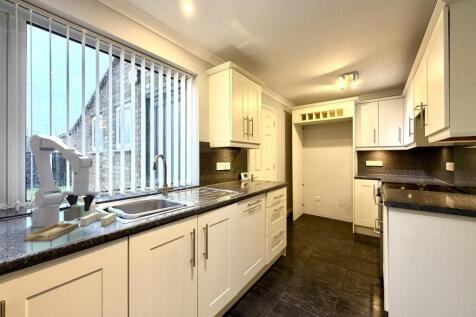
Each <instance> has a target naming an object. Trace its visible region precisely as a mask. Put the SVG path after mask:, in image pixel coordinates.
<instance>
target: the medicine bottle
mask: <svg viewBox="0 0 476 317" xmlns="http://www.w3.org/2000/svg"><path fill="white" fill-rule="evenodd" d="M83 197H85V196H80V197H79V202H84V199H83ZM92 213H96V202H94V200H93V201H92V203H91V213H89V214H87V215H90V214H92ZM87 215H85V216H87ZM85 216H81V217H79V218H76V219H75V220H80V218H83V217H85Z"/></svg>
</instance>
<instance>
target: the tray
mask: <svg viewBox="0 0 476 317" xmlns="http://www.w3.org/2000/svg"><path fill="white" fill-rule="evenodd" d="M79 224H80V222H62V223H55V224H52V225H50V226H47V227H41V228H40V229H38V230H35V231H32V232H30V233H27V234H24V236H23V241H24V242H29V241H30V242H31V241H34V242H37V241H38V242H39V241H41V242H44V241H53V240H55V239H57V238H60V236H63V235H65V234H67V233H69V232H71V231H74V230H75V229H77V228H79V226H80V225H79Z"/></svg>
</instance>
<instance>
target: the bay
mask: <svg viewBox="0 0 476 317" xmlns="http://www.w3.org/2000/svg"><path fill="white" fill-rule="evenodd" d="M115 219H116V220H117V213H116V212H95V213H92V214H90V215H87V216H85V217H83V218H80V219H79V220H80V221H79V224H80V225H79V226H88V225H90V224H92V223H94V222H96V221H100V226H101V225H102V226H107V224H108V225H110V224H111V223H112V221H113V222H115V221H116V220H115ZM95 220H96V221H95ZM93 221H94V222H93ZM91 222H92V223H91ZM89 223H90V224H89Z"/></svg>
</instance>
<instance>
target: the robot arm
mask: <svg viewBox="0 0 476 317" xmlns="http://www.w3.org/2000/svg"><path fill="white" fill-rule="evenodd" d="M29 146H30V150H31V153H32V154H33V157H34V161H35V166H36V171H37V176H38V181H39V185H40V186H39V187H40V188H39V189H37V190H36V191H35V192H34V204H35V206H36V207H35V208H34V209H33V211H32V212H31V213H32V214H31V215H32V216H31V225H30V227H31V228H45V227H47V226H50V225H52V224H55V223H65V221H64V220H60V206H62V204H63V203H64V202H65V200H66V201H67V202H68V204H69V208H71V206H72V205H74V204H77V203H78V199H79V196H80V197H81V196H85V197H83V199H84V205H85V206H84V210H85V212H87V211H89V208H90V205H91V203H92V201H93V202H94V199H95V197H97V196H99V190H98V191H97V190H95V191H94V190H89V182H90V168H92V166H93V159H92V157H90V156H89V155H87V156H85V155H83V154H82V153H81V152H79V151H77V149H76V148H74V147H68V146H67V145H66V144H65V143H63V141H62V139H61V138H60V137H58V136H51V135H42V134H41V135H40V134H37V133H36V134H33V135H32V136H31V137H30V140H29ZM56 151H57V152H59V153H61V157H62V158H63V159H65V160H66V161H67V162H68V163H69V164H70V166H71V171H72V173H73V182H72V183H73V185H72V186H73V188H72V190H64V191H62V188H61V187H59V186H56V184H55V179H54V174H53V170H52V165H51V160H50V155H52V154H54V153H55V152H56ZM65 196H66V197H65Z"/></svg>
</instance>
